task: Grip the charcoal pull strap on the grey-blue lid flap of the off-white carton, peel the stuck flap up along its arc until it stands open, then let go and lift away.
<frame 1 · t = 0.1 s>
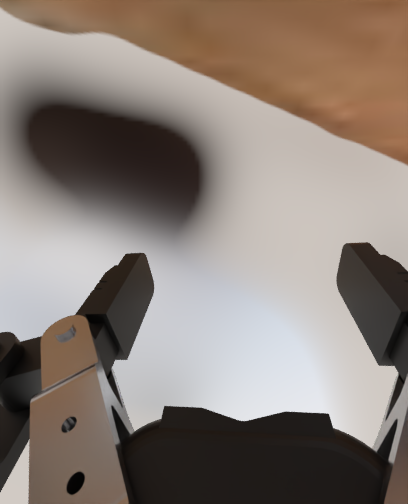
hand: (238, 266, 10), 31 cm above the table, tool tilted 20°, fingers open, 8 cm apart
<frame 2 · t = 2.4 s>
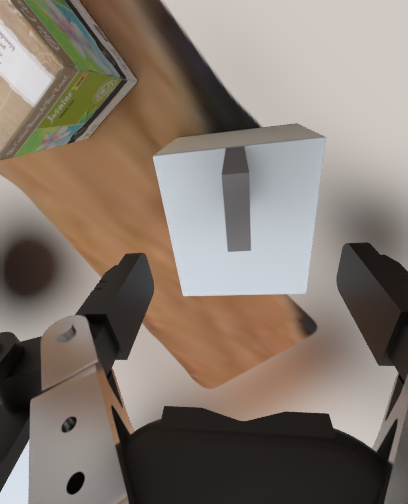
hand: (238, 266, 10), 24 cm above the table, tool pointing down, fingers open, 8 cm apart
tea box: (62, 48, 27), on the table
carton: (237, 196, 33), on the table
flap: (239, 254, 21), point 14 cm above the table, hinge at 0.0°
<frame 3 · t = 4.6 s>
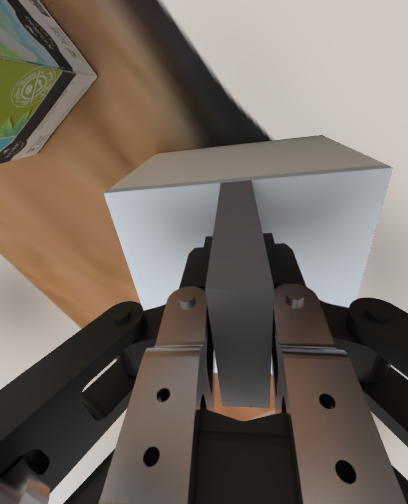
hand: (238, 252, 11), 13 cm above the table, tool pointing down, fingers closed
carton: (239, 228, 25), on the table
flap: (244, 350, 13), point 14 cm above the table, hinge at 0.0°, touching gripper
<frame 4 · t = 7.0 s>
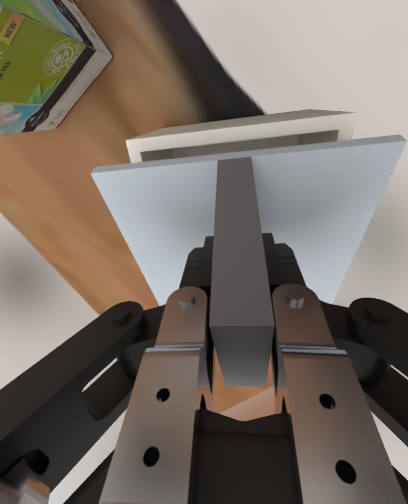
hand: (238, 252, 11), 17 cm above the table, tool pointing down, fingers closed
tea box: (18, 15, 22), on the table
carton: (237, 199, 28), on the table
flap: (242, 319, 14), point 16 cm above the table, hinge at 16.9°, touching gripper
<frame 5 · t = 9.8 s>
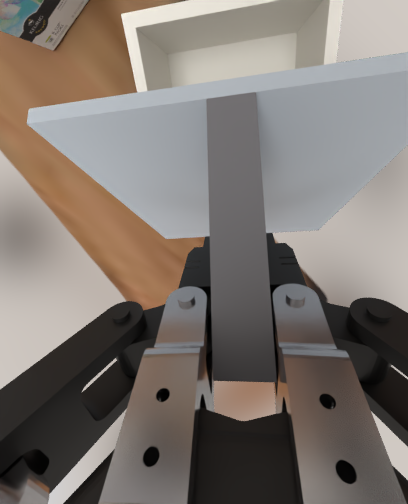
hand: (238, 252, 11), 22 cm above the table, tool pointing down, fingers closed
carton: (233, 126, 28), on the table
flap: (239, 259, 15), point 19 cm above the table, hinge at 49.0°, touching gripper
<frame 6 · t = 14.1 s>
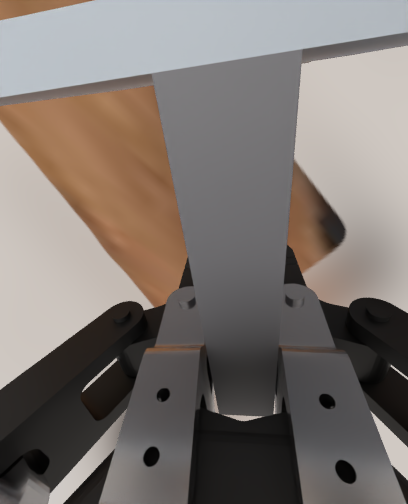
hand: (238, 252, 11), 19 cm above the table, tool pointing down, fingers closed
flap: (235, 173, 11), point 18 cm above the table, hinge at 93.7°, touching gripper
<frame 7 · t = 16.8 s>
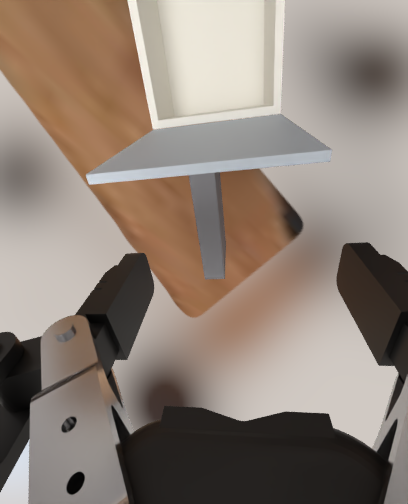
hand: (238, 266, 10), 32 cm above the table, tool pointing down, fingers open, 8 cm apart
carton: (213, 46, 31), on the table
flap: (214, 186, 23), point 18 cm above the table, hinge at 94.0°
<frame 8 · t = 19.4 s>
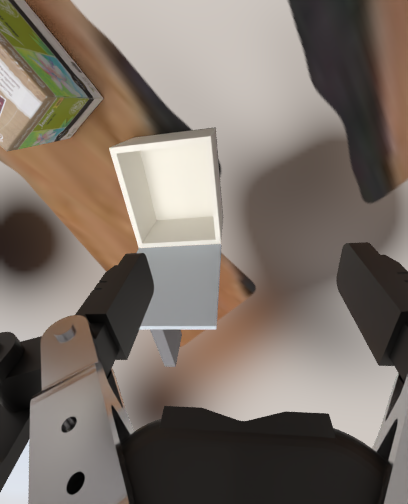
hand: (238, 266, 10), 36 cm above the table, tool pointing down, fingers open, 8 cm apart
tea box: (51, 75, 39), on the table
carton: (181, 180, 45), on the table
flap: (175, 299, 37), point 18 cm above the table, hinge at 94.0°
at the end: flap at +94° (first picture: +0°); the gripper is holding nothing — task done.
